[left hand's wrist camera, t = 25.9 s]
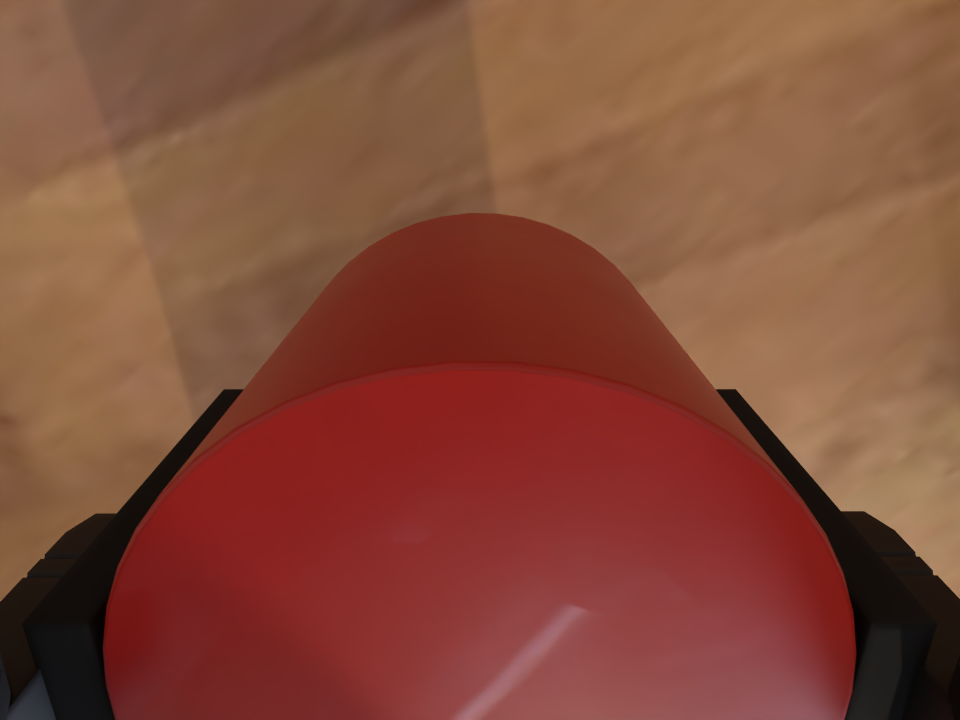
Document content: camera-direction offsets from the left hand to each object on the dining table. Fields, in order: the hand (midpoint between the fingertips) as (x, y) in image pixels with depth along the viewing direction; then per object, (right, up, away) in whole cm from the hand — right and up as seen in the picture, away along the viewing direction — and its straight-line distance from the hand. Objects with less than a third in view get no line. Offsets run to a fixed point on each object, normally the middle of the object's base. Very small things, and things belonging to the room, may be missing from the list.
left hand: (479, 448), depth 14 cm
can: (0, +1, +2) cm, 2 cm away
